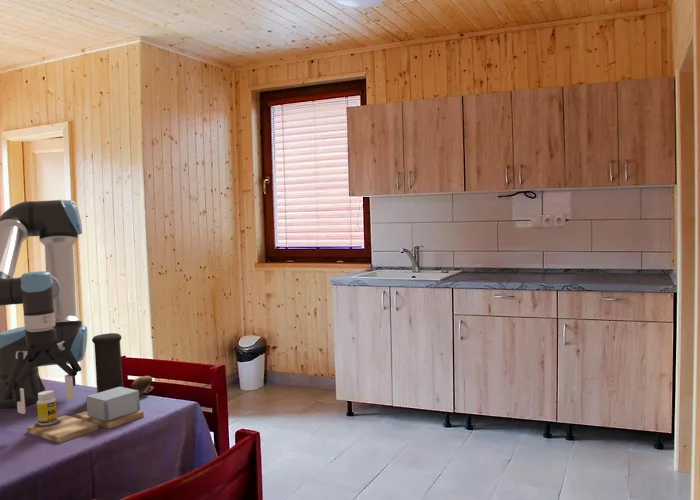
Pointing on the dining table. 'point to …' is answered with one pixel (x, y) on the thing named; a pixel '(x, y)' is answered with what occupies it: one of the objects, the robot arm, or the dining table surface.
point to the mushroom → (142, 384)
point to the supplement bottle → (46, 408)
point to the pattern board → (112, 422)
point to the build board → (63, 429)
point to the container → (108, 361)
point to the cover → (113, 403)
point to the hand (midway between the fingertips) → (46, 405)
